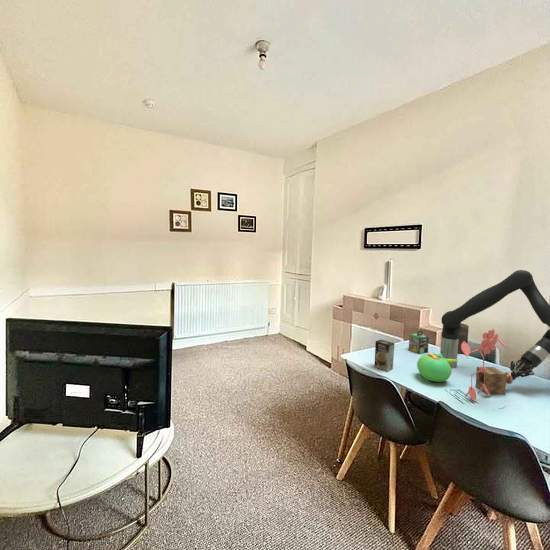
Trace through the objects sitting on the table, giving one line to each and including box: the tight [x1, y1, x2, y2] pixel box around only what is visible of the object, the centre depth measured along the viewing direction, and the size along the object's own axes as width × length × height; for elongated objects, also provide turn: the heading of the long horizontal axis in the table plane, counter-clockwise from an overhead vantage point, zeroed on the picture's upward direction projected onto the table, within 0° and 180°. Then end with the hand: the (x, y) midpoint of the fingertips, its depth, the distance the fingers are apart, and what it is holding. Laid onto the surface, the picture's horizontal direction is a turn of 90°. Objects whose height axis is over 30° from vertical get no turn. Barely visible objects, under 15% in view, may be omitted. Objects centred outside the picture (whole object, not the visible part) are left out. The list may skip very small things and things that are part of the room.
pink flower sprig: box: [456, 328, 508, 410], centre depth 147 cm, size 15×26×35 cm, turn 113°
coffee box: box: [374, 339, 395, 373], centre depth 188 cm, size 9×6×16 cm
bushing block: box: [474, 366, 507, 396], centre depth 160 cm, size 9×9×11 cm
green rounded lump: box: [416, 352, 459, 383], centre depth 172 cm, size 18×17×15 cm
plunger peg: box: [483, 372, 514, 385], centre depth 160 cm, size 12×6×6 cm, turn 92°
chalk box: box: [408, 330, 430, 355], centre depth 218 cm, size 9×9×15 cm
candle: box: [457, 322, 469, 354], centre depth 216 cm, size 8×7×20 cm
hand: (509, 379), depth 161 cm, fingers closed
